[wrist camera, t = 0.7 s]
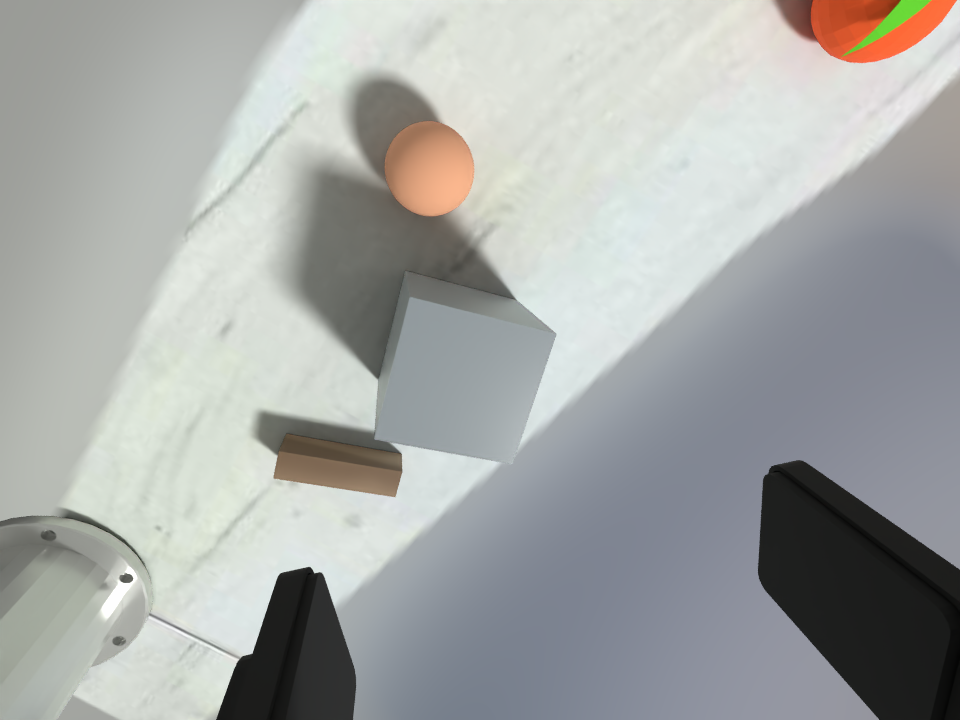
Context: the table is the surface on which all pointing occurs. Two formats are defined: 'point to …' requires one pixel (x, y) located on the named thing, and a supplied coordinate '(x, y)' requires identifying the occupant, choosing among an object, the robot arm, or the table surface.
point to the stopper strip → (338, 465)
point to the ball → (429, 168)
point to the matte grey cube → (460, 370)
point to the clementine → (874, 26)
